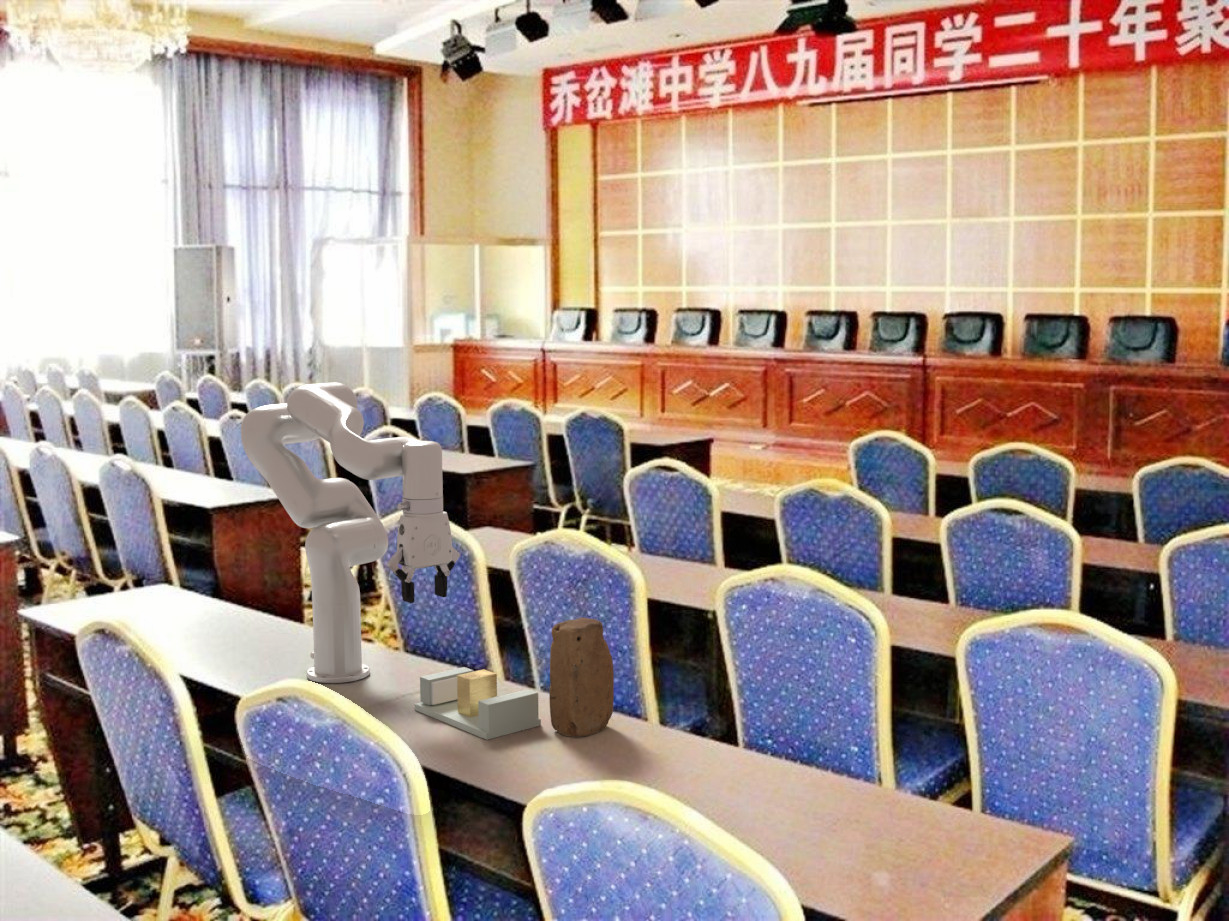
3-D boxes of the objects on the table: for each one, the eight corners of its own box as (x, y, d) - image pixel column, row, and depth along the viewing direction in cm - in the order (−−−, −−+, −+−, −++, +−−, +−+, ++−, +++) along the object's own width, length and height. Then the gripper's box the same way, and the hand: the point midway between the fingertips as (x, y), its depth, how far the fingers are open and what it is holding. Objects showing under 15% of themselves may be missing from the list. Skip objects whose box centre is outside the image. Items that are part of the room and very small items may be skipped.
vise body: (414, 709, 260) (413, 677, 259) (467, 697, 267) (466, 666, 267) (486, 739, 242) (486, 705, 242) (540, 725, 250) (540, 692, 249)
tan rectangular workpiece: (457, 712, 254) (457, 675, 253) (484, 705, 258) (484, 669, 257) (470, 717, 251) (469, 679, 250) (497, 710, 255) (496, 673, 254)
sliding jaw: (420, 701, 260) (419, 676, 259) (464, 691, 266) (464, 667, 266) (431, 706, 257) (430, 680, 256) (475, 695, 263) (475, 670, 263)
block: (570, 741, 241) (570, 629, 239) (545, 731, 247) (544, 621, 244) (619, 729, 248) (619, 619, 245) (593, 719, 254) (593, 612, 251)
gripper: (394, 513, 254) (396, 609, 256) (472, 504, 265) (473, 595, 268) (372, 508, 260) (375, 602, 262) (450, 499, 271) (451, 589, 273)
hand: (424, 598), depth 265 cm, fingers open, 6 cm apart
